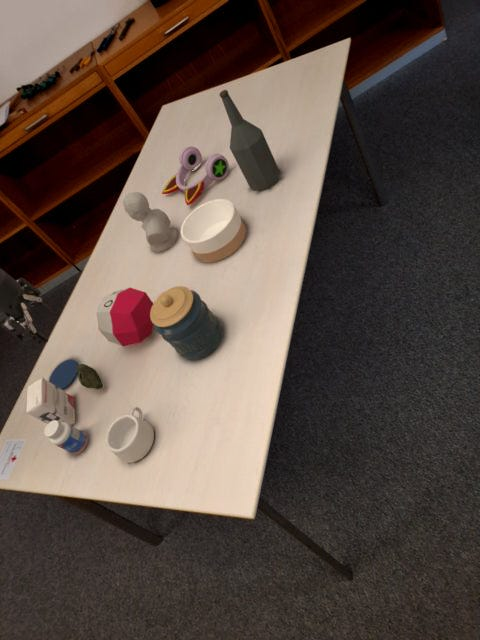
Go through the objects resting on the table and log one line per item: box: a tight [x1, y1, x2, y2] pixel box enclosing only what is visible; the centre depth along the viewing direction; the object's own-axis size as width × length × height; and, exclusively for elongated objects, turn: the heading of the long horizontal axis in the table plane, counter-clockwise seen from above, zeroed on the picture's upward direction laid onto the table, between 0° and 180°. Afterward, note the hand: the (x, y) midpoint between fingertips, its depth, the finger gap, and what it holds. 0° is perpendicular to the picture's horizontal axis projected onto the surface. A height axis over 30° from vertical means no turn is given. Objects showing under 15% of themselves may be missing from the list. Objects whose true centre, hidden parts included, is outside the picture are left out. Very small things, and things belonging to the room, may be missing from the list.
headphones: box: [161, 146, 230, 207], centre depth 152 cm, size 20×10×20 cm
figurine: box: [122, 191, 178, 253], centre depth 136 cm, size 9×13×20 cm
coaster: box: [48, 358, 80, 391], centre depth 125 cm, size 10×10×1 cm
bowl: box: [180, 198, 247, 263], centre depth 128 cm, size 17×17×8 cm
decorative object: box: [96, 287, 154, 347], centre depth 117 cm, size 15×15×15 cm
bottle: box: [219, 89, 280, 192], centre depth 128 cm, size 10×10×30 cm
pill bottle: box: [43, 420, 89, 455], centre depth 104 cm, size 6×5×10 cm
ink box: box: [25, 377, 76, 426], centre depth 112 cm, size 8×5×12 cm, turn 20°
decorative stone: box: [77, 363, 104, 390], centre depth 117 cm, size 11×8×5 cm
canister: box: [150, 285, 224, 361], centre depth 104 cm, size 13×13×18 cm
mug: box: [105, 406, 155, 463], centre depth 99 cm, size 12×10×6 cm
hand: (47, 327), depth 100 cm, fingers open, 8 cm apart
